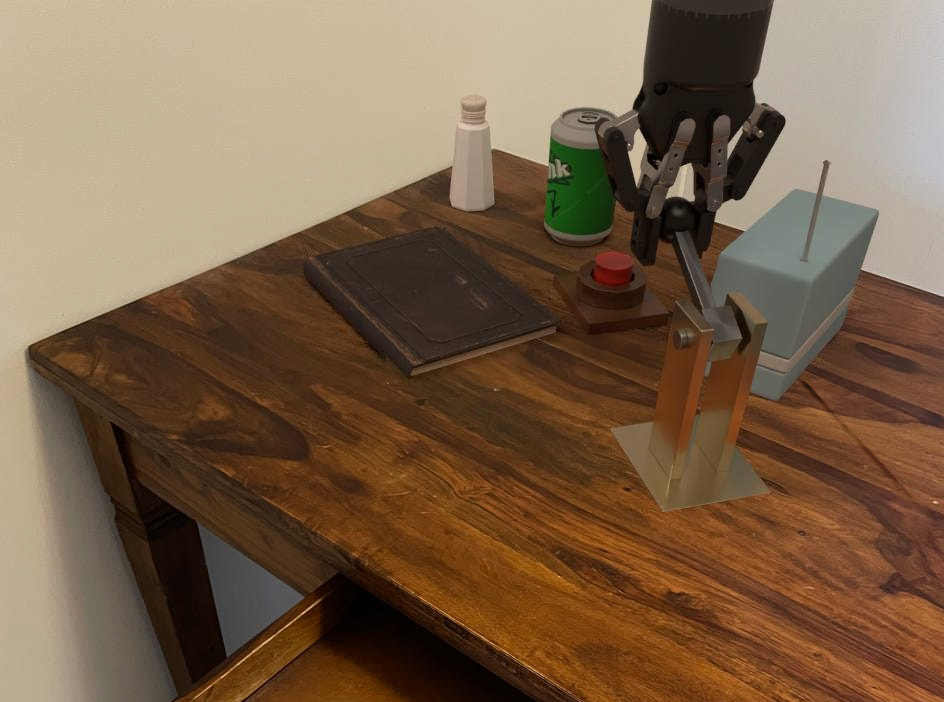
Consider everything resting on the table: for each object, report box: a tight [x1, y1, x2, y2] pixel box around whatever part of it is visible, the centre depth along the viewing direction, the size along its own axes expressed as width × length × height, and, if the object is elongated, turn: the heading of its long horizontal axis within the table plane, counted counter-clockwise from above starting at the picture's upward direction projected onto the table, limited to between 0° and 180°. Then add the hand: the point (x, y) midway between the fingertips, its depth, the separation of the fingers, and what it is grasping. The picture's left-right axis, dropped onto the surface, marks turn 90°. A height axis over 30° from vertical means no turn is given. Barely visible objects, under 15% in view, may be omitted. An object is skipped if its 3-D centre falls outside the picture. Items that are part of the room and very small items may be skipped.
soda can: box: [543, 106, 619, 247], centre depth 100 cm, size 8×8×12 cm
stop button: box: [593, 251, 634, 286], centre depth 89 cm, size 4×4×2 cm
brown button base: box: [552, 259, 670, 336], centre depth 91 cm, size 10×8×4 cm
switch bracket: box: [609, 292, 772, 513], centre depth 71 cm, size 11×9×14 cm
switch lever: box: [659, 195, 742, 362], centre depth 68 cm, size 13×3×3 cm, turn 15°
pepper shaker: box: [448, 94, 496, 213], centre depth 106 cm, size 5×5×11 cm
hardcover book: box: [302, 224, 563, 380], centre depth 92 cm, size 16×23×2 cm
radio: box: [704, 159, 880, 402], centre depth 80 cm, size 16×9×20 cm, turn 145°
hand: (667, 257), depth 72 cm, fingers closed on switch lever, 3 cm apart
